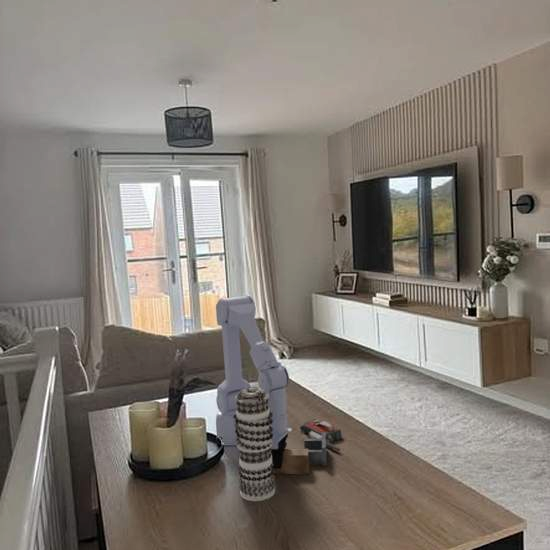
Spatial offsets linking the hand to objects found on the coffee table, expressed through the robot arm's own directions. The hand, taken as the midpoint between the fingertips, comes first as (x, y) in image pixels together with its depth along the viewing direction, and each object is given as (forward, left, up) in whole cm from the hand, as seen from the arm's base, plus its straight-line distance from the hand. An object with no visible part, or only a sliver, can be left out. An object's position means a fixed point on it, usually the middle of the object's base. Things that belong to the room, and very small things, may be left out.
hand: (278, 464), depth 133 cm
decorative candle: (-4, -11, -2) cm, 12 cm away
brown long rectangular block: (0, 0, -2) cm, 2 cm away
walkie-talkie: (+12, +20, -2) cm, 23 cm away
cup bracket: (+10, +7, -2) cm, 12 cm away
